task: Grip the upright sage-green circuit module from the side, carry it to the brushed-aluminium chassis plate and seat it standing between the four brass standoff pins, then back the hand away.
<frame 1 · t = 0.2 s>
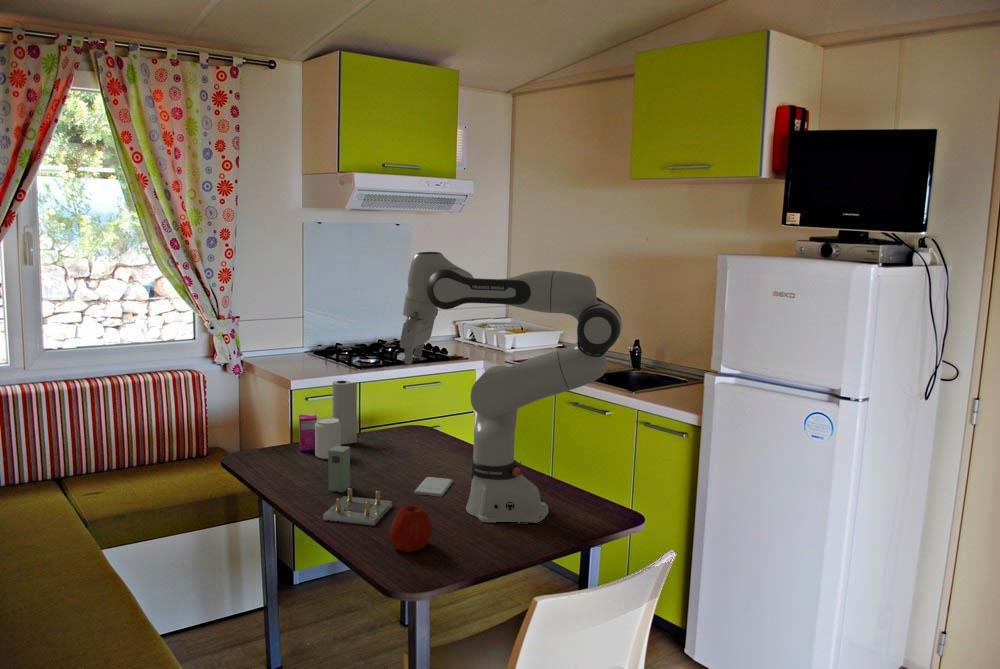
hand: (412, 360, 221), 40 cm above the table, tool pointing down, fingers open, 8 cm apart
external hard drive: (433, 490, 238), on the table
module: (339, 488, 235), on the table
apple: (410, 548, 197), on the table
supplement box: (308, 449, 271), on the table
beverage can: (328, 456, 264), on the table
chassis: (358, 512, 218), on the table
paper towel roll: (342, 443, 279), on the table
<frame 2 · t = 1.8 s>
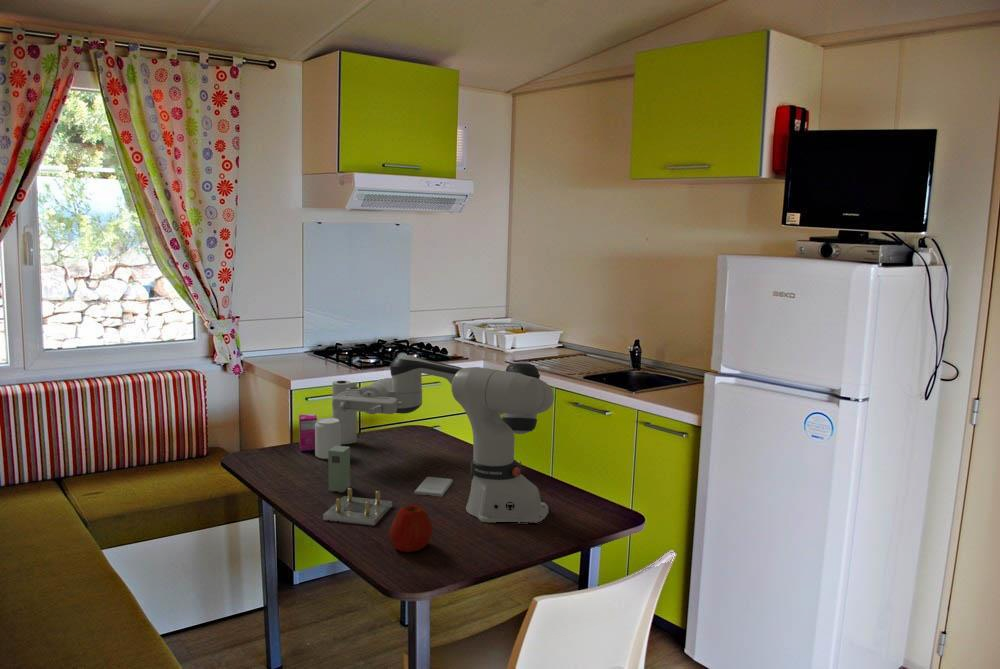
hand: (356, 410, 244), 20 cm above the table, tool horizontal, fingers open, 8 cm apart
nothing on the table moved.
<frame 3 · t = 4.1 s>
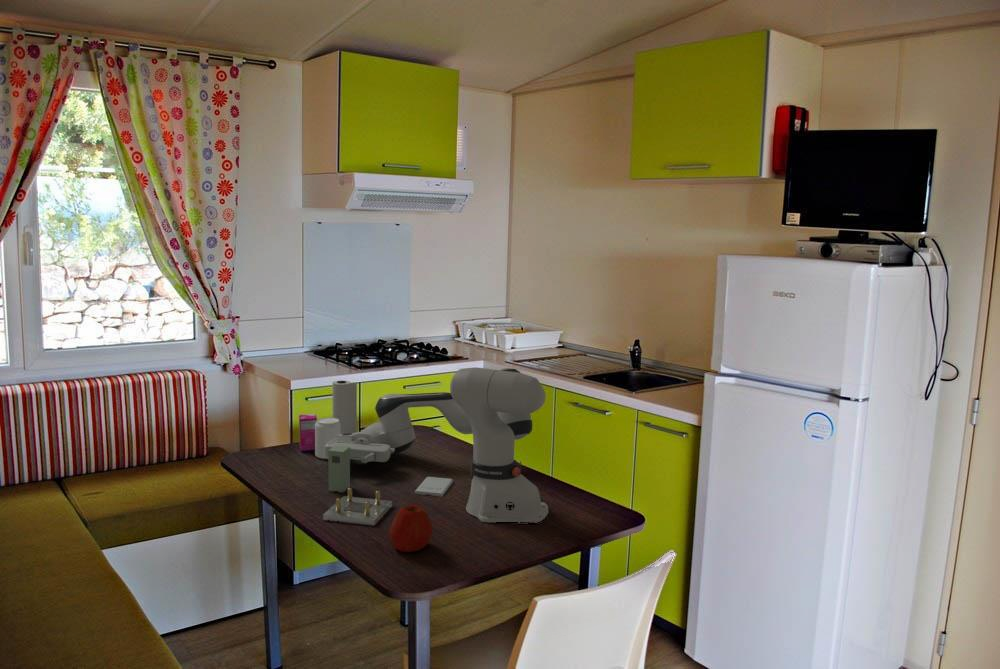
hand: (348, 459, 242), 6 cm above the table, tool horizontal, fingers open, 8 cm apart
nothing on the table moved.
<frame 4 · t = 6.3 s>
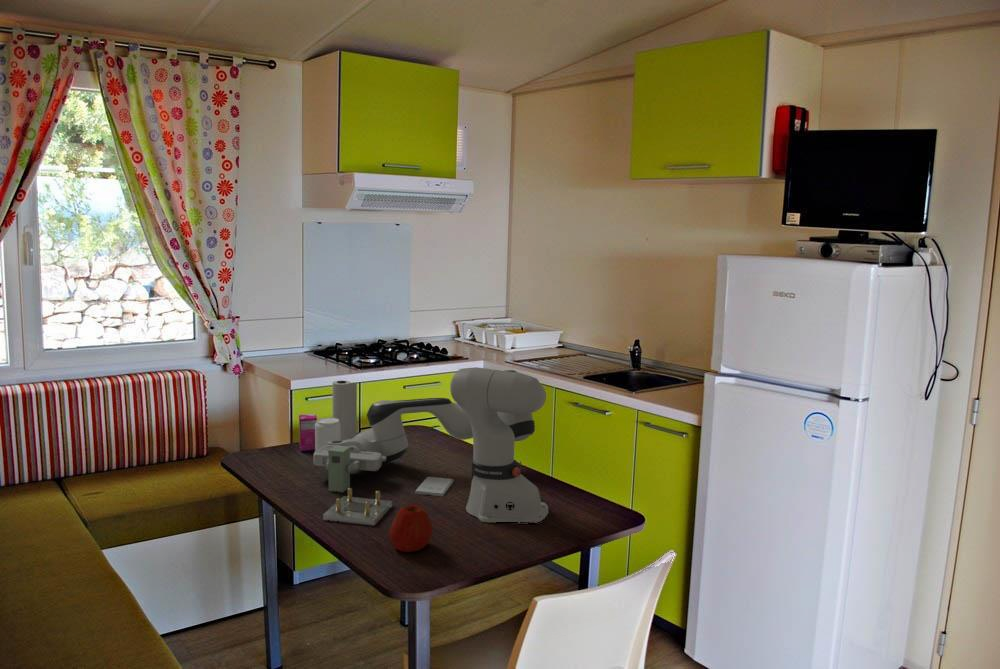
hand: (338, 467, 233), 7 cm above the table, tool horizontal, fingers closed on module, 4 cm apart
module: (339, 488, 235), on the table, touching gripper
everything else where it was.
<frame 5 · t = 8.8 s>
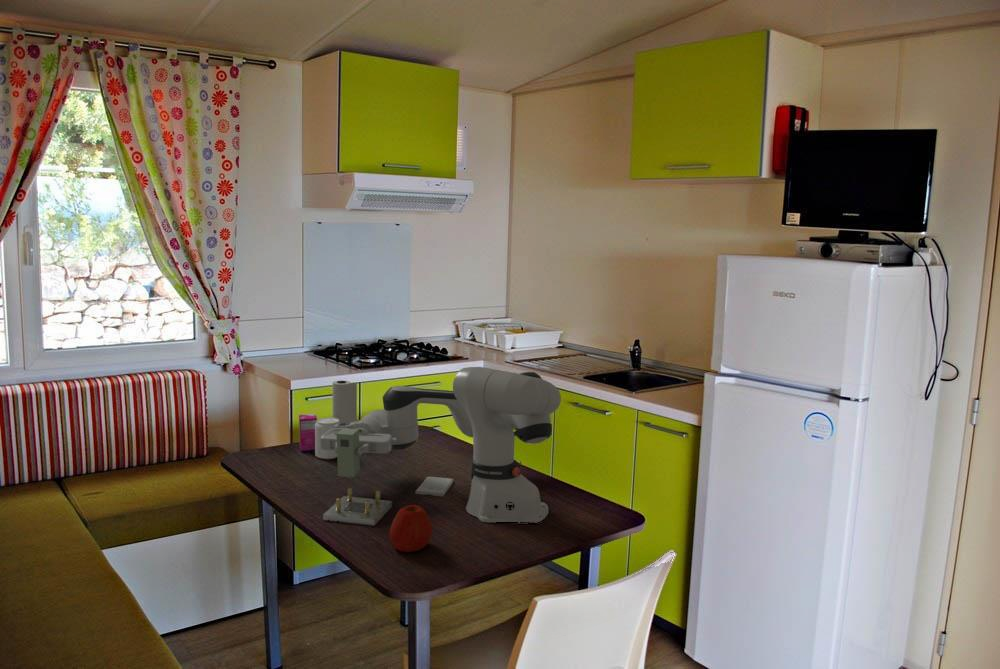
hand: (347, 451, 221), 15 cm above the table, tool horizontal, fingers closed on module, 4 cm apart
module: (349, 473, 224), point 8 cm above the table, touching gripper
everything else where it was.
when the fingers open (9 cm above the table, at t = 11.2 s): module drops 1 cm, resting on chassis.
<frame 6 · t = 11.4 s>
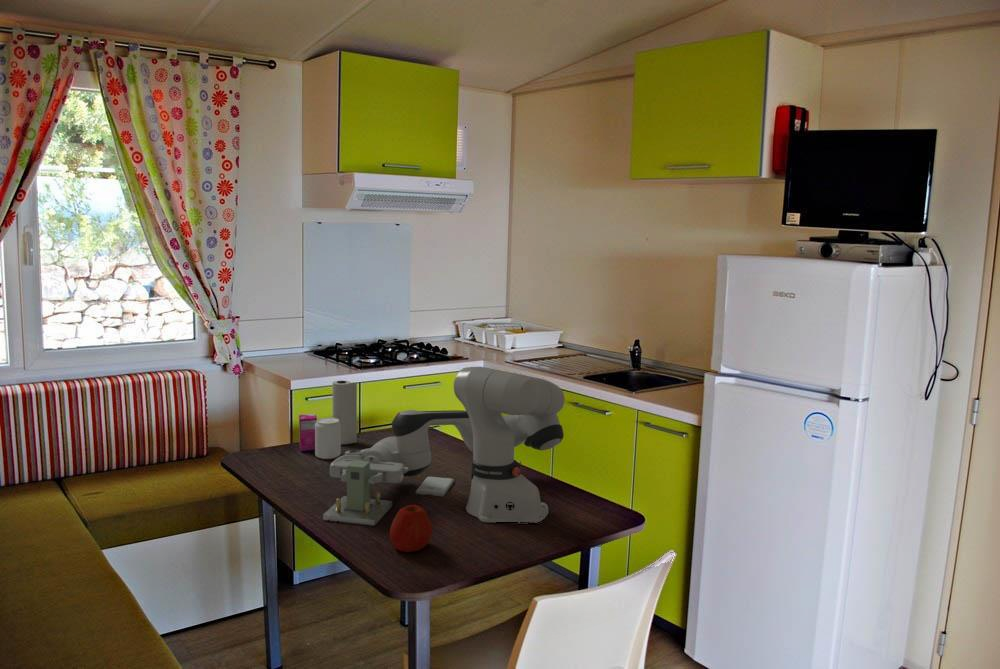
hand: (357, 480, 215), 9 cm above the table, tool horizontal, fingers open, 6 cm apart
module: (358, 506, 217), point 2 cm above the table, touching chassis
everything else where it was.
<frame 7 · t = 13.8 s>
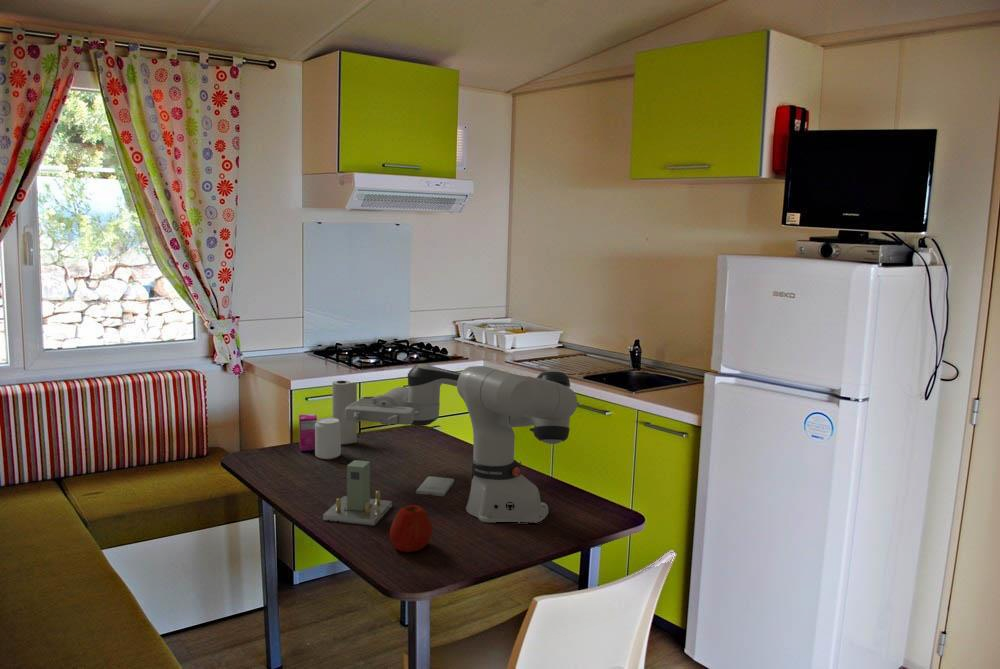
hand: (370, 420, 230), 21 cm above the table, tool horizontal, fingers open, 8 cm apart
nothing on the table moved.
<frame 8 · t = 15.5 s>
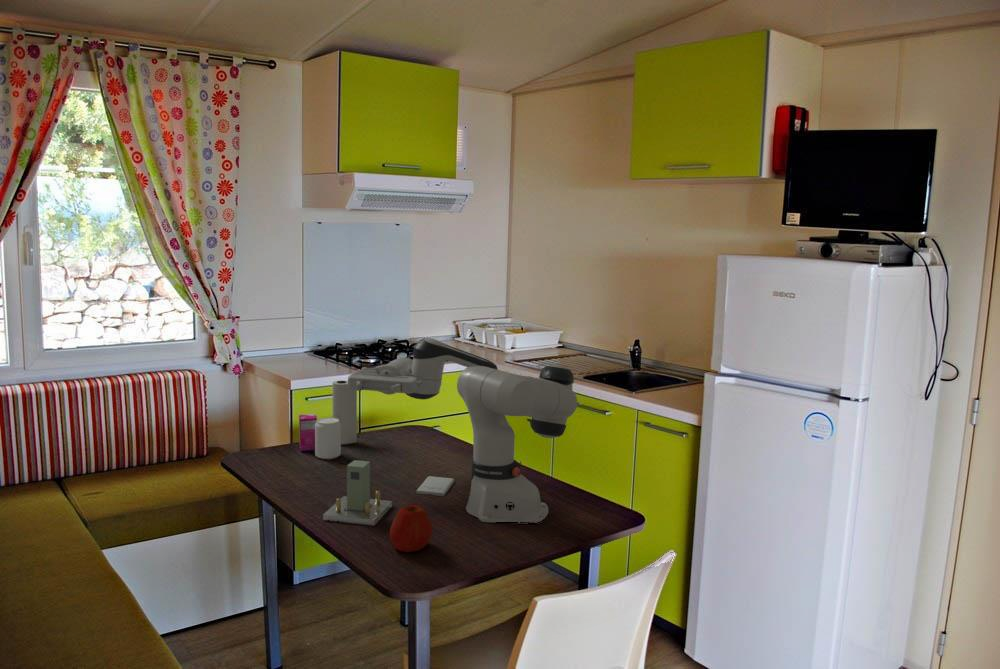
hand: (374, 389, 230), 30 cm above the table, tool horizontal, fingers open, 8 cm apart
nothing on the table moved.
at the end: module 0.0 cm off-centre on the chassis, point 1.7 cm above the chassis's base; module tilted 0°; the gripper is holding nothing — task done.
